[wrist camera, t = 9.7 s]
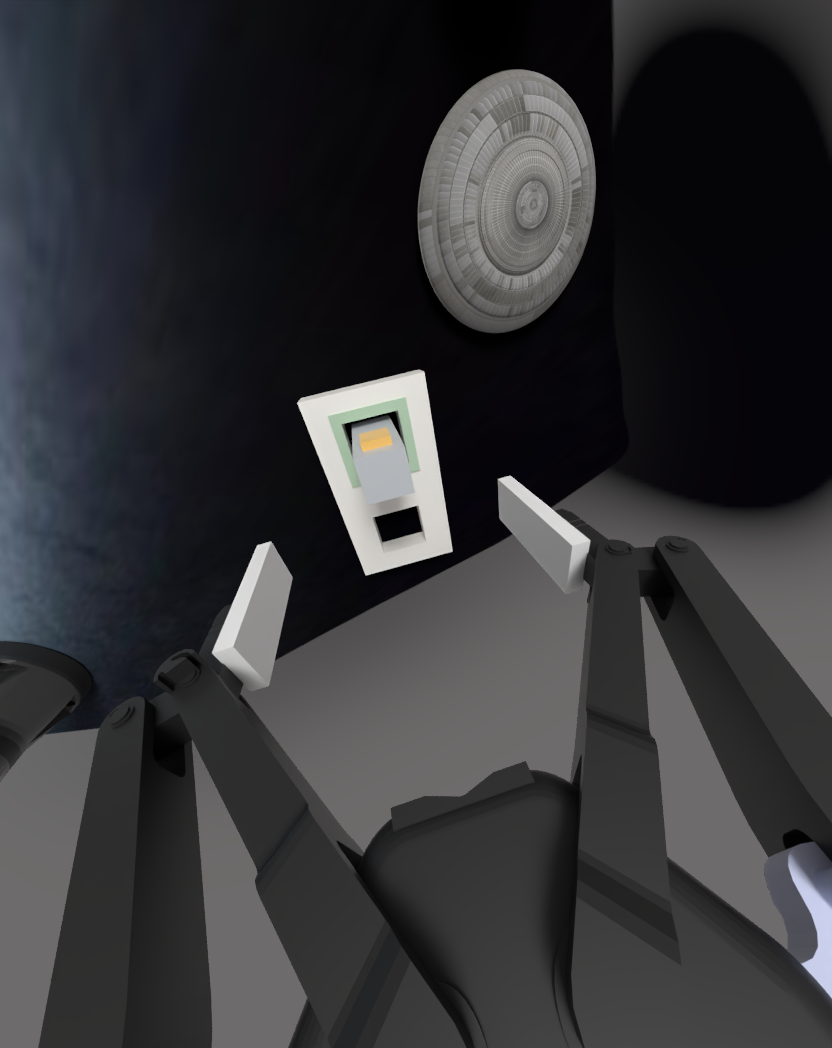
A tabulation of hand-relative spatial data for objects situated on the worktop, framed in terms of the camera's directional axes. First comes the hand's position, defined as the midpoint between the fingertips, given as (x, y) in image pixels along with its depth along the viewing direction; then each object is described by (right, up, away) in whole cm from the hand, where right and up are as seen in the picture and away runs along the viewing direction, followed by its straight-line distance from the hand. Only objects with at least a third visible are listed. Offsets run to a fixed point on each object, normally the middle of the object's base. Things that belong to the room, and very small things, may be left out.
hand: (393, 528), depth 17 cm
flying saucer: (+8, +26, +8) cm, 28 cm away
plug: (-3, +10, +15) cm, 18 cm away
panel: (-2, +5, +18) cm, 19 cm away
